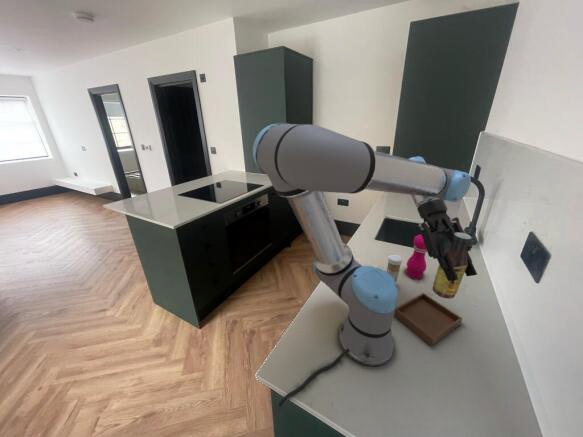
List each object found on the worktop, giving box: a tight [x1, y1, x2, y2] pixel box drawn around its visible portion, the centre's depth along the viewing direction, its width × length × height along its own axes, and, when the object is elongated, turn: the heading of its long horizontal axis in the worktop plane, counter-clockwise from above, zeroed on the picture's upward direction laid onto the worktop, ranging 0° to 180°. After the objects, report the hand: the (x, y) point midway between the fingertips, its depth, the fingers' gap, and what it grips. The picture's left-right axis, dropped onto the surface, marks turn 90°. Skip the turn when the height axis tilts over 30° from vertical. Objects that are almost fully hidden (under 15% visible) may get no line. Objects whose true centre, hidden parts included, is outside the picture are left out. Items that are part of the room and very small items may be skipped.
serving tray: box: [394, 292, 463, 347], centre depth 75 cm, size 15×13×3 cm
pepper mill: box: [405, 234, 428, 280], centre depth 93 cm, size 7×7×20 cm
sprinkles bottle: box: [385, 254, 403, 284], centre depth 88 cm, size 5×5×13 cm
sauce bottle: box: [432, 232, 473, 300], centre depth 66 cm, size 7×6×20 cm
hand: (462, 277), depth 64 cm, fingers closed on sauce bottle, 6 cm apart
